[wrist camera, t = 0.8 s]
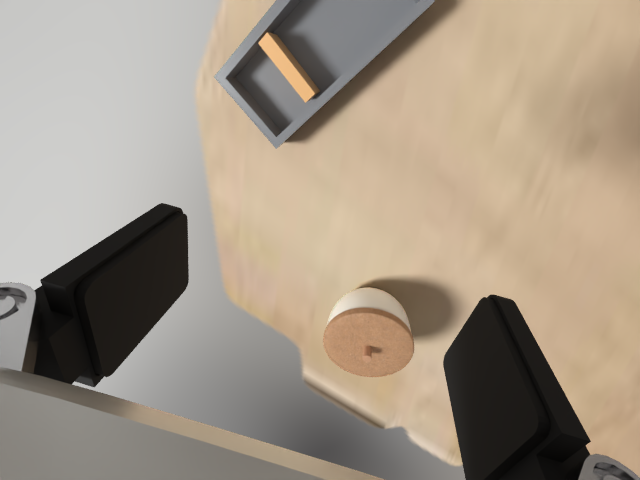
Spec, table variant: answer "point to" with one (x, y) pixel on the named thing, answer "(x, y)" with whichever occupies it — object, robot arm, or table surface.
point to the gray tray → (311, 55)
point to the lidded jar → (369, 333)
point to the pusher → (289, 66)
